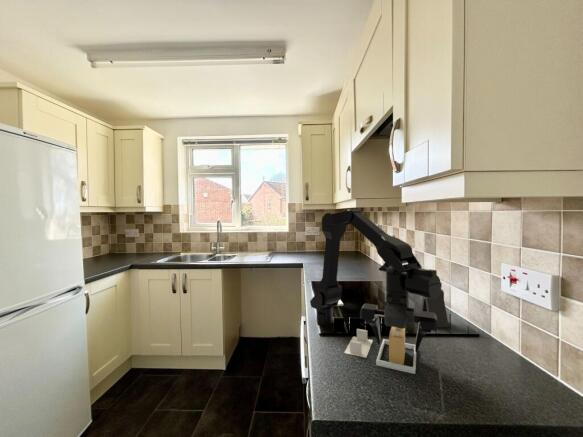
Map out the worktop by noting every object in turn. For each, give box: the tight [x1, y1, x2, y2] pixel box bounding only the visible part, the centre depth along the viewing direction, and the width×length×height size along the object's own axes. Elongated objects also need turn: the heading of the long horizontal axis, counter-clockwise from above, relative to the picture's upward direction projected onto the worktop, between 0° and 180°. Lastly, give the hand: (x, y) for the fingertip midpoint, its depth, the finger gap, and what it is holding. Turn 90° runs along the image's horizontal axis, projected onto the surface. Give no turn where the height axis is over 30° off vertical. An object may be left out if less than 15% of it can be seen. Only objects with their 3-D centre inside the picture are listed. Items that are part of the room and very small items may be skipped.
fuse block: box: [343, 328, 374, 359], centre depth 78 cm, size 11×6×4 cm, turn 154°
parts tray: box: [375, 338, 417, 375], centre depth 73 cm, size 13×9×2 cm
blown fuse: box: [388, 326, 406, 365], centre depth 72 cm, size 7×4×8 cm, turn 155°
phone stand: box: [420, 289, 450, 329], centre depth 97 cm, size 9×6×12 cm, turn 178°
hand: (397, 347), depth 73 cm, fingers open, 9 cm apart
